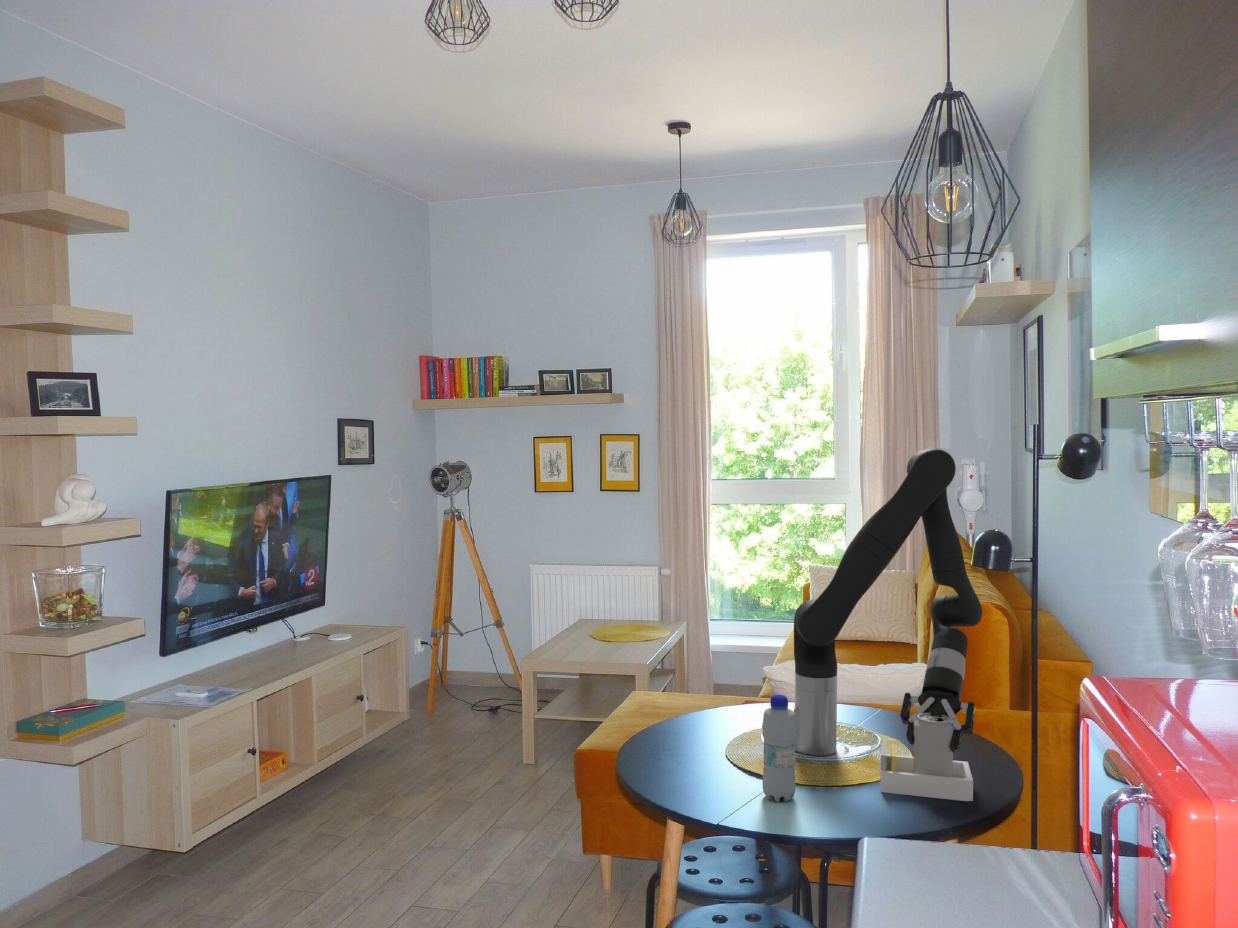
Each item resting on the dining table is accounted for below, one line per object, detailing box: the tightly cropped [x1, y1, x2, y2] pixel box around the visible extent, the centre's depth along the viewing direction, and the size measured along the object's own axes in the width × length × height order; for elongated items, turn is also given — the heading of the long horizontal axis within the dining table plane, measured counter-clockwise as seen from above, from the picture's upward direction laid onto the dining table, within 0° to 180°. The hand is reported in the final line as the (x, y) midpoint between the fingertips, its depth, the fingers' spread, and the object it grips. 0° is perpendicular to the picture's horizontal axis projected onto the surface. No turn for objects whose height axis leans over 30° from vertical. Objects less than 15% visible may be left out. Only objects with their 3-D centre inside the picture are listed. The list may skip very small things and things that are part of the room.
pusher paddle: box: [890, 743, 898, 772], centre depth 182 cm, size 1×8×6 cm, turn 164°
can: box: [913, 713, 954, 777], centre depth 180 cm, size 8×8×12 cm
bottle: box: [761, 694, 797, 803], centre depth 175 cm, size 7×7×20 cm
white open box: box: [880, 740, 974, 802], centre depth 181 cm, size 17×11×7 cm, turn 74°
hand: (931, 746), depth 179 cm, fingers closed on can, 7 cm apart
